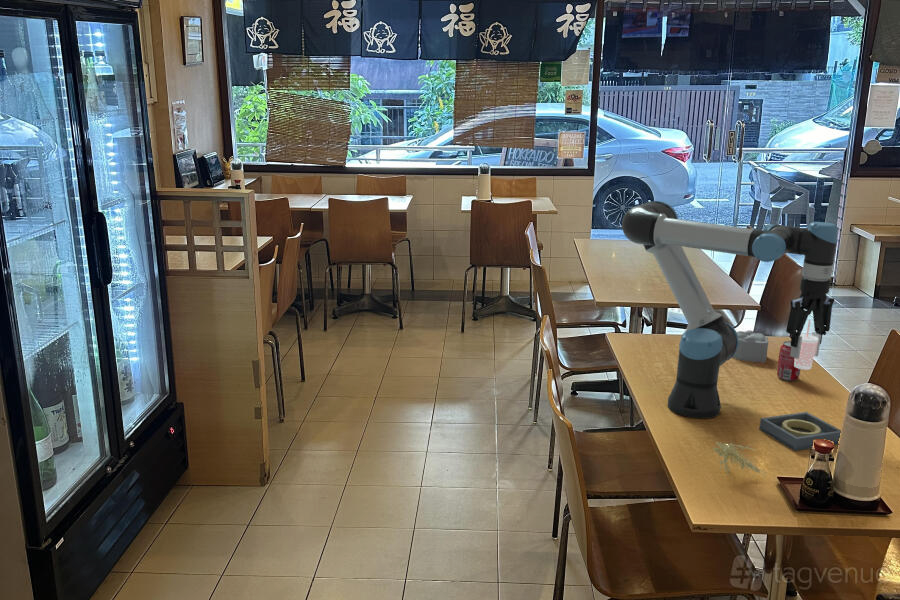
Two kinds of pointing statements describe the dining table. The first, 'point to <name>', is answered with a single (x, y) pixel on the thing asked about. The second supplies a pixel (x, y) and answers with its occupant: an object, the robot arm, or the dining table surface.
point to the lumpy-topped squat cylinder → (751, 347)
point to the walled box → (798, 430)
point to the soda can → (787, 364)
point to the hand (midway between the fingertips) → (804, 355)
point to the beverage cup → (806, 351)
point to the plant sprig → (730, 451)
